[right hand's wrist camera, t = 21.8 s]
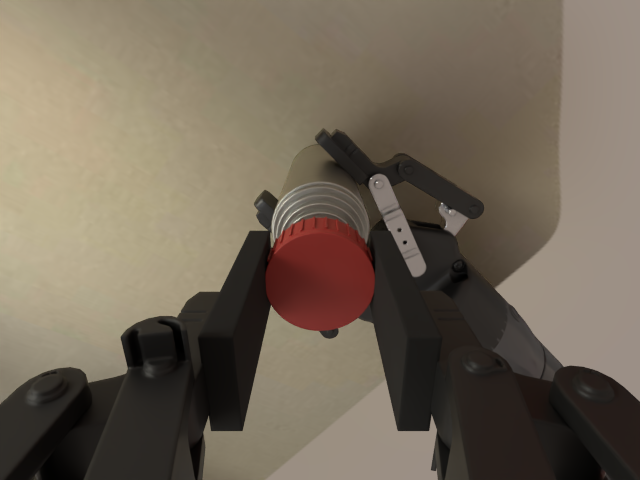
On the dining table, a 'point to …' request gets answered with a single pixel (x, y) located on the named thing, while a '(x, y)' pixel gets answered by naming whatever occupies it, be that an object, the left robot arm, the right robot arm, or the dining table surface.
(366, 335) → the dining table surface
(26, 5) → the dining table surface
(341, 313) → the cap
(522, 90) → the dining table surface
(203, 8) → the dining table surface
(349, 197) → the bottle
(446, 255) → the left robot arm
